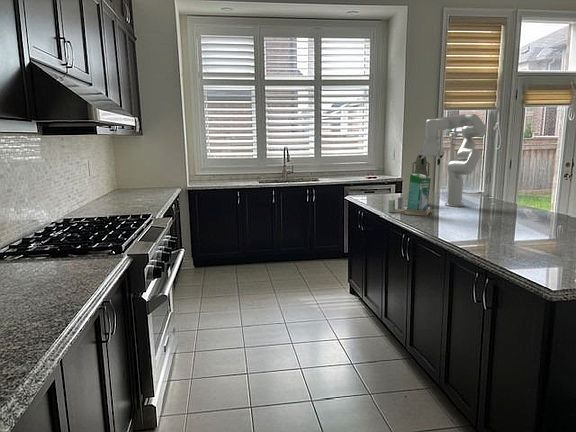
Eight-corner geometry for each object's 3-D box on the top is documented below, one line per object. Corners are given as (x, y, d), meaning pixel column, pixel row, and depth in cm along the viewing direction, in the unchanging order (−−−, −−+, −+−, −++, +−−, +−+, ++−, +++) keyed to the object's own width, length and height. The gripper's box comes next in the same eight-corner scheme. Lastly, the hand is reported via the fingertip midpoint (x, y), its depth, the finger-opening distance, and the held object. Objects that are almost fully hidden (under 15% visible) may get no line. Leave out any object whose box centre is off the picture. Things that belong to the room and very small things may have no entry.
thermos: (429, 204, 317) (431, 155, 310) (412, 204, 318) (413, 156, 312) (427, 202, 325) (428, 155, 319) (410, 202, 327) (412, 155, 320)
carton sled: (391, 209, 300) (392, 197, 298) (430, 211, 289) (430, 199, 287) (386, 213, 287) (387, 201, 285) (426, 215, 276) (427, 203, 274)
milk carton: (417, 214, 279) (421, 175, 274) (406, 211, 287) (410, 173, 282) (427, 213, 284) (431, 174, 279) (416, 210, 292) (420, 173, 286)
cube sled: (399, 207, 306) (399, 196, 304) (421, 208, 299) (421, 197, 298) (397, 209, 299) (397, 197, 298) (419, 210, 293) (419, 198, 291)
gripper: (446, 138, 286) (445, 164, 289) (418, 138, 294) (418, 164, 297) (444, 138, 280) (443, 165, 283) (416, 139, 287) (416, 165, 290)
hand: (430, 165), depth 290 cm, fingers open, 9 cm apart
